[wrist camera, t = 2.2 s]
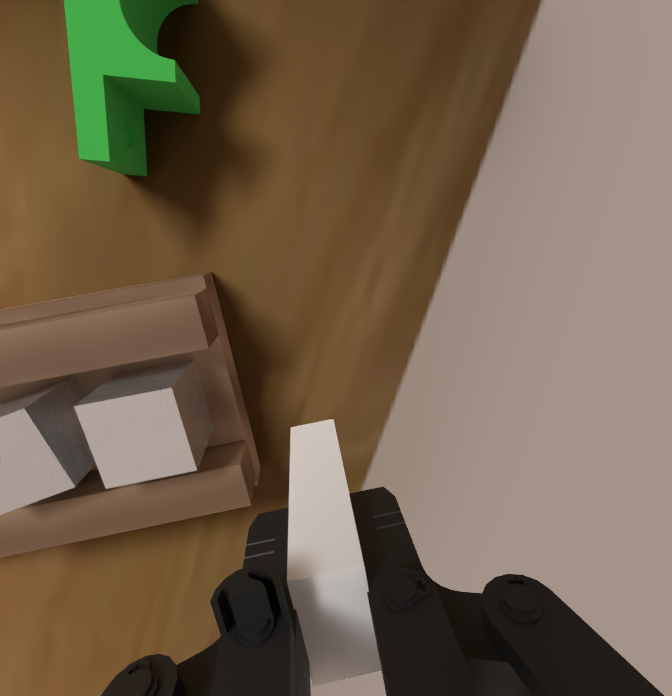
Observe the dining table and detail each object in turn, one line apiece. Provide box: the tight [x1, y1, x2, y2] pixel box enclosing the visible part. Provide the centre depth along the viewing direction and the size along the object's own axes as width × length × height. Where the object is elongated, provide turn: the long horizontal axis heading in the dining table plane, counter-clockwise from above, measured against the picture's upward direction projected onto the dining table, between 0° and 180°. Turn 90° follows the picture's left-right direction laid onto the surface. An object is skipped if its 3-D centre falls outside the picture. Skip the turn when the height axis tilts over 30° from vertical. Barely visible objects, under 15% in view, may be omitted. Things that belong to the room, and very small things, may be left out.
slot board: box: [0, 272, 261, 558], centre depth 21 cm, size 12×15×4 cm
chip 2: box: [74, 359, 214, 489], centre depth 19 cm, size 4×4×4 cm
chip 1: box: [0, 375, 96, 515], centre depth 19 cm, size 4×4×4 cm
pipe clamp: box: [64, 0, 200, 176], centre depth 17 cm, size 11×4×5 cm, turn 176°
